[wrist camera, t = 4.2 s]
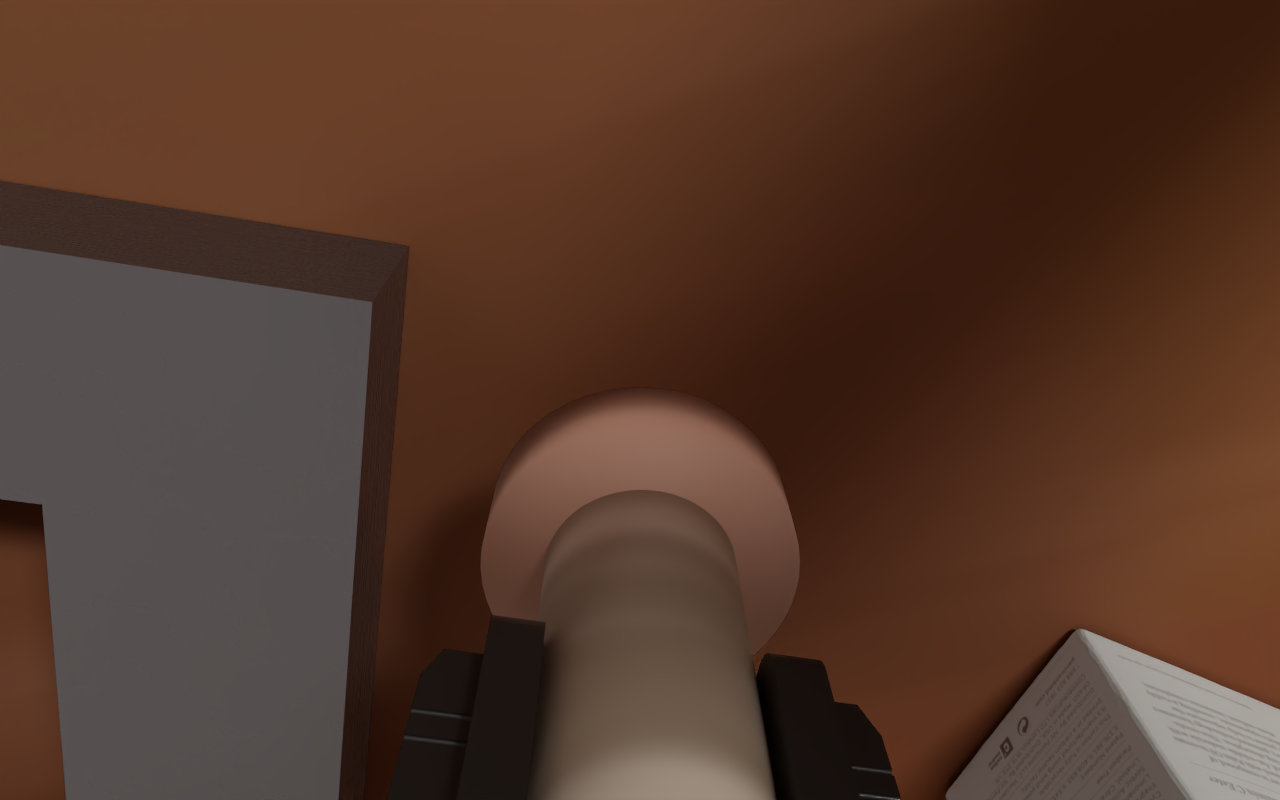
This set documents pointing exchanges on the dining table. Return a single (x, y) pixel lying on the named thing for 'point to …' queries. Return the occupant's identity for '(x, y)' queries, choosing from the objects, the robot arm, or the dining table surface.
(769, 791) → the stud
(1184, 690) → the small box
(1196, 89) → the dining table surface
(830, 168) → the dining table surface
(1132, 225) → the dining table surface
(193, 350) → the keyhole plate
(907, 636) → the dining table surface
